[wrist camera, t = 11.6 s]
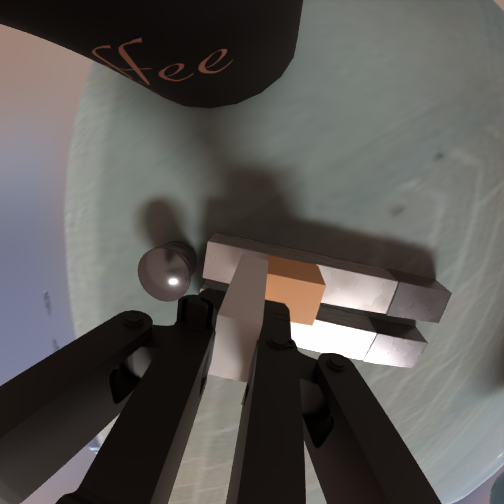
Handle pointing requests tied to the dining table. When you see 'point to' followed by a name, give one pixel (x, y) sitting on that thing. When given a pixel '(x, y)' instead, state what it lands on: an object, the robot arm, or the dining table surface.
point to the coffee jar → (173, 41)
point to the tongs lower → (332, 269)
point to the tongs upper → (354, 335)
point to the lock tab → (295, 288)
